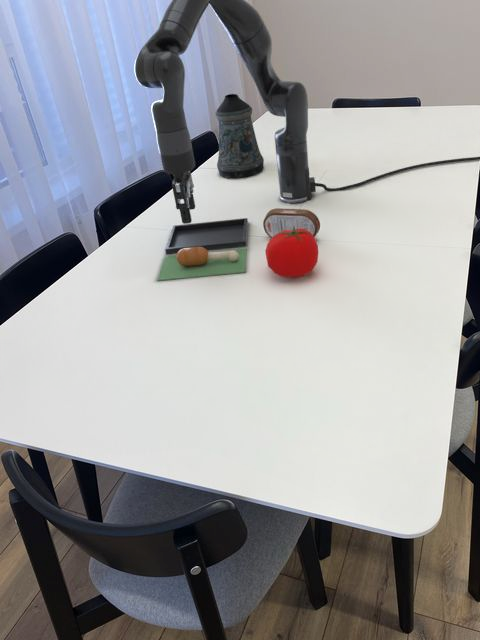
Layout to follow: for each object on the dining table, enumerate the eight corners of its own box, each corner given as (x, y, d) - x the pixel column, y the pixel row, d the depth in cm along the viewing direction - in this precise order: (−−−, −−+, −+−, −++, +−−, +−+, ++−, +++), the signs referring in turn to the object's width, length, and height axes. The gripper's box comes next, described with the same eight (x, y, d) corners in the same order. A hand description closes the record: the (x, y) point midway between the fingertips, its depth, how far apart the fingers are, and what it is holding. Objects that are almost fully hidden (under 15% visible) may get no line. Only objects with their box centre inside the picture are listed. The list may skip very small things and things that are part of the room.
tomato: (304, 289, 131) (300, 246, 125) (258, 280, 137) (253, 239, 131) (330, 263, 140) (328, 222, 134) (286, 256, 146) (282, 216, 140)
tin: (321, 238, 152) (319, 208, 147) (318, 243, 149) (316, 213, 145) (267, 236, 157) (264, 206, 152) (263, 241, 154) (260, 211, 149)
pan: (248, 223, 165) (247, 217, 164) (246, 247, 152) (245, 241, 151) (174, 231, 167) (173, 225, 166) (166, 255, 154) (165, 249, 153)
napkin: (247, 249, 151) (247, 248, 151) (245, 272, 141) (245, 271, 141) (165, 257, 153) (164, 256, 153) (157, 281, 142) (157, 280, 142)
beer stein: (238, 182, 194) (227, 104, 180) (204, 172, 207) (191, 99, 193) (274, 168, 202) (266, 92, 188) (239, 159, 215) (229, 88, 201)
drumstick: (239, 256, 148) (237, 239, 145) (238, 264, 144) (236, 248, 142) (179, 261, 149) (176, 245, 146) (177, 270, 145) (173, 254, 143)
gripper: (188, 156, 124) (201, 226, 134) (194, 137, 136) (206, 202, 145) (154, 160, 125) (170, 229, 134) (163, 141, 137) (177, 206, 146)
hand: (189, 215), depth 140 cm, fingers open, 8 cm apart
